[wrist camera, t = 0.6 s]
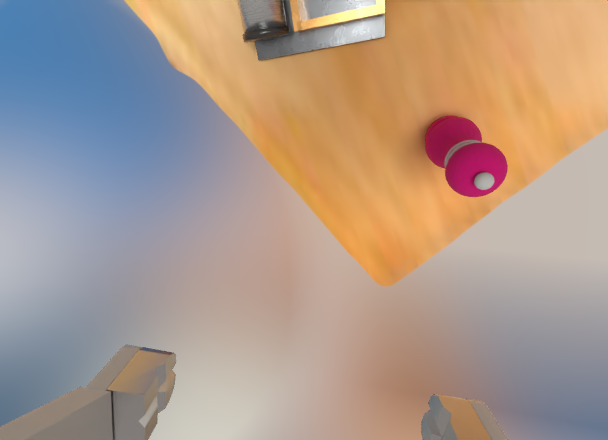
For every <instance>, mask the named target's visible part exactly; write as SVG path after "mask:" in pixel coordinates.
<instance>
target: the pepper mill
mask: <svg viewBox="0 0 608 440" xmlns="http://www.w3.org/2000/svg"><path fill="white" fill-rule="evenodd" d="M425 141H426V152H427V155H428V157H429V158H430V160H431V161H432V162H433V163H434V164H436V165H437V166H439V167H442V168H445V169H446V170H445V176H446V180H447V182H448V184H449V185H450V187H451V188H452V189H453V190H454V191H456V192H457V193H459V194H461V195H464V196H468V197H479V196H484V195H487V194H489V193H491V192H493V191H494V190H496V189H497V188H498V187H499V186H500V185H501V184H502V182H503V181H504V179H505V177H506V174H507V162H506V158H505V156H504V155H503V153H502V152H501V151H500V150H499V149H498V148H496V147H495V146H493V145H490V144H487V143H482V137H481V133H480V130H479V129H478V127H477V126H476V125H475V124H474V123H473V122H472V121H470V120H468V119H466V118H461V117H456V116H445V117H442V118H440V119H438V120H436V121H435V122H434V123H433V124H432V125H431V126H430V127H429V129H428V131H427V133H426V138H425Z"/></svg>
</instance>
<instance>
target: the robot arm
mask: <svg viewBox="0 0 608 440" xmlns="http://www.w3.org/2000/svg"><path fill="white" fill-rule="evenodd" d="M175 364H176V354H175V353H172V352H167V351H161V350H156V349H150V348H145V347H137V346H132V345H125V346H124V347H122V348H121V349H120V350H119V351H118V352H117V353H116V354H115V356H114V357H113V358H112V359H111V360H110V361H109V362H108V363H107V365H106V366H105V367H104V368H103V369H102V370H101V371H100V372H99V373H98V374H97V376H96V377H95V378H94V379H93V380H92V381H91V382H90V384H89V385H88V386H87V387H79V388H77V389H75V390H73V391H71V392H69V393H67V394H65V395H63V396H61V397H59V398H57V399H55V400H53V401H51V402H49V403H47V404H45V405H43V406H41V407H39V408H37V409H35V410H33V411H31V412H29V413H27V414H25V415H23V416H21V417H19V418H17V419H15V420H13V421H11V422H9V423H7V424H5V425H3V426H1V427H0V440H148V439H149V437H150V435H151V433H152V431H153V430H154V428H155V426H156V424H157V415H158V413H159V412H160V411H162V410H163V409H165V408H166V406H167V404H168V402H169V400H170V397H171V394H172V392H173V389H174V384H175V373H174V372H173V370H172V369H173V367H174V365H175ZM428 404H429V406H430V410H429V411H428V412H426V413H425V414H424V416H423V419H422V422H421V423H422V424H421V433H422V439H423V440H508V439H507V437H506V435H505V434H504V432H503V431H502V429H501V427H500V426H499V424H498V423H497V421H496V419H495V418H494V416H493V415H492V413H491V412H490V410H489V409H488V407H487V405H486V404H485V403H484V402H482V401H478V400H471V399H463V398H457V397H451V396H443V395H437V394H433V395H432V396H431V397H430V400H429V402H428Z"/></svg>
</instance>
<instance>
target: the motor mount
mask: <svg viewBox="0 0 608 440" xmlns="http://www.w3.org/2000/svg"><path fill="white" fill-rule="evenodd" d="M238 5H239V10H240V14H241V19H242V24H243V29H244V33H245V34H243V39H244V42H246V43H250V42H255V45H256V50H257V55H258V60H265V59H270V58H276V57H281V56H286V55H292V54H297V53H302V52H308V51H313V50H318V49H324V48H329V47H334V46H340V45H345V44H350V43H356V42H361V41H366V40H371V39H377V38H382V37H385V19H384V15H385V0H238Z"/></svg>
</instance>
